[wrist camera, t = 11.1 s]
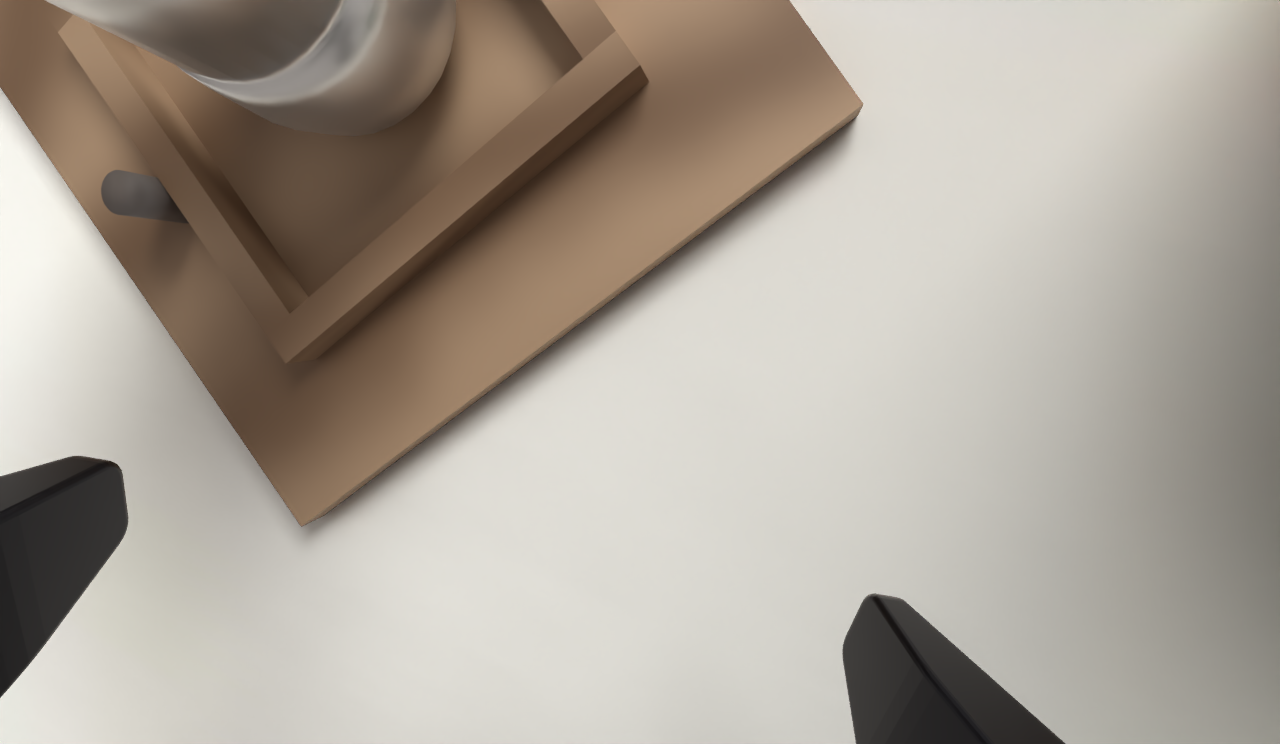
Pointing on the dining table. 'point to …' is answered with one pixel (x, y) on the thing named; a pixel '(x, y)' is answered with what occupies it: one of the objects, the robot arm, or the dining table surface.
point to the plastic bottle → (295, 53)
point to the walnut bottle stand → (417, 204)
